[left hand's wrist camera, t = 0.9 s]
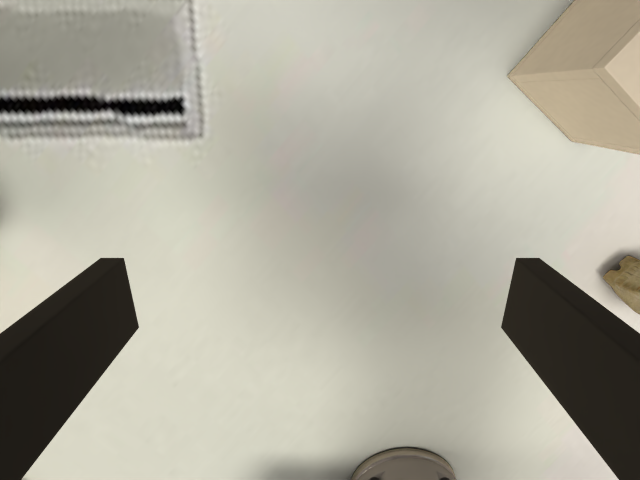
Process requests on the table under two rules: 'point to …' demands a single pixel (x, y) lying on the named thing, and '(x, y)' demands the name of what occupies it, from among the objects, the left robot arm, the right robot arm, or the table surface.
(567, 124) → the chest
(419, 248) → the table surface
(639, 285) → the sculpture
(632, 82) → the lid
